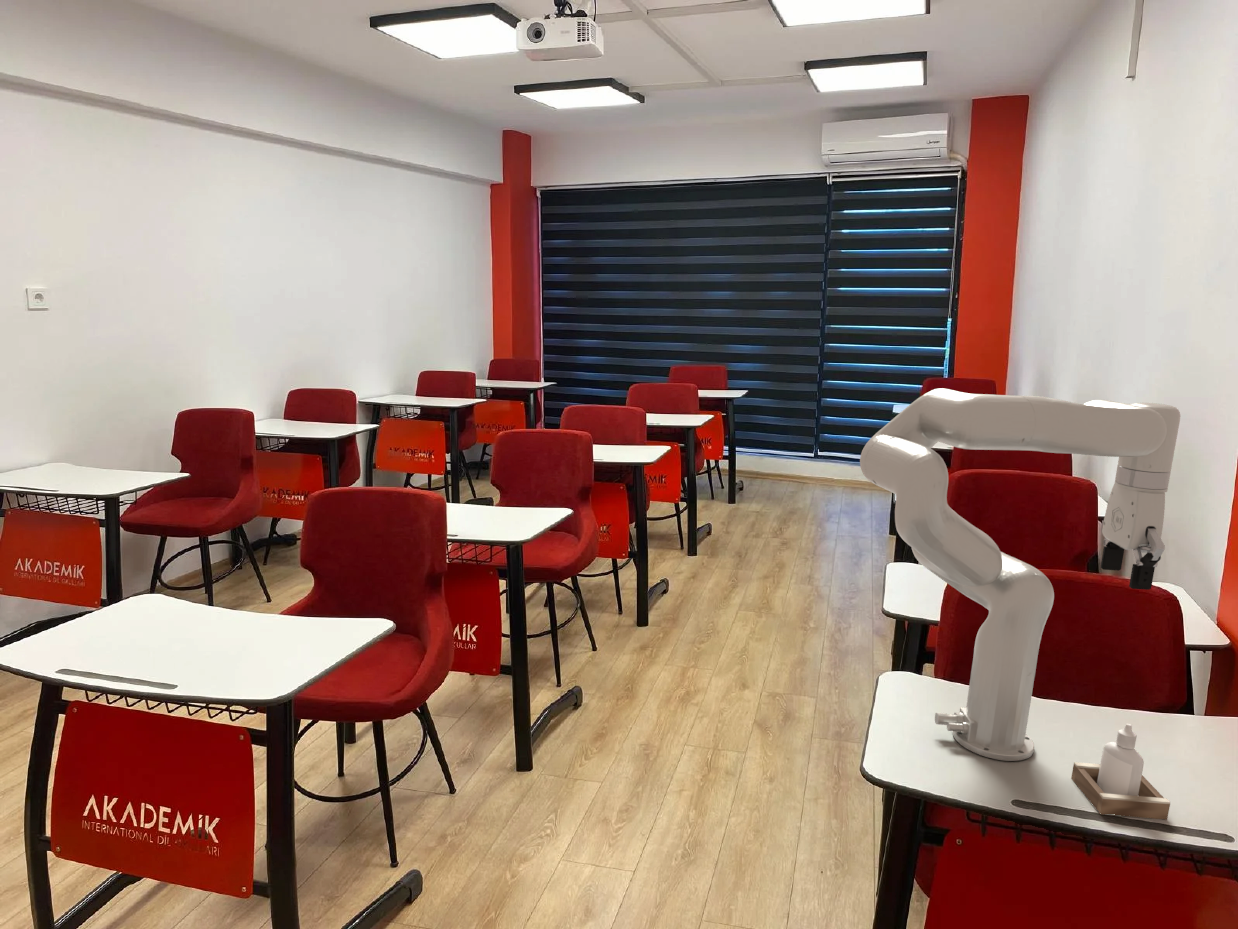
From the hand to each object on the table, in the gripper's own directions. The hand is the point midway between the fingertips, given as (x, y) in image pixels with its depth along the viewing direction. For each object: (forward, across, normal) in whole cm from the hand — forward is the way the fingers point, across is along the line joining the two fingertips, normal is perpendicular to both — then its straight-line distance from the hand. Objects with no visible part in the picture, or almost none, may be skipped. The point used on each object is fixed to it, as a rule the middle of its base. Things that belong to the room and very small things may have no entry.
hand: (1124, 578), depth 145 cm
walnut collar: (+28, +20, -6) cm, 36 cm away
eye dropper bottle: (+28, +20, -7) cm, 36 cm away
